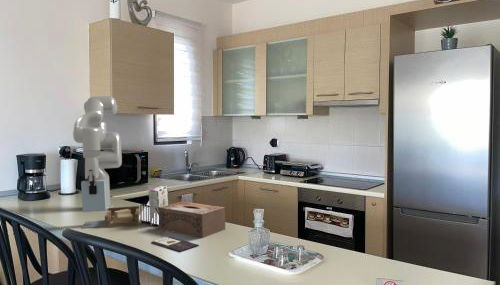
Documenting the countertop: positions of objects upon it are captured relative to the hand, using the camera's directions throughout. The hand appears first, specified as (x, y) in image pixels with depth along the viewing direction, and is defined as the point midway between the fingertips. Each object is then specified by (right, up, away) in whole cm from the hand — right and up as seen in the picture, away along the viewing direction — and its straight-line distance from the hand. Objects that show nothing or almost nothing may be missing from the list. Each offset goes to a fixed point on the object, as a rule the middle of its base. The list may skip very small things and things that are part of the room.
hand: (93, 193), depth 192 cm
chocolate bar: (+44, -17, -32) cm, 57 cm away
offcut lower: (+13, -15, +1) cm, 20 cm away
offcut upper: (+13, -11, +1) cm, 17 cm away
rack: (+13, -14, +4) cm, 19 cm away
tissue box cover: (+47, -15, -11) cm, 51 cm away
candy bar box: (+30, -14, +2) cm, 34 cm away
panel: (0, -8, 0) cm, 8 cm away
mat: (0, -15, +1) cm, 15 cm away
